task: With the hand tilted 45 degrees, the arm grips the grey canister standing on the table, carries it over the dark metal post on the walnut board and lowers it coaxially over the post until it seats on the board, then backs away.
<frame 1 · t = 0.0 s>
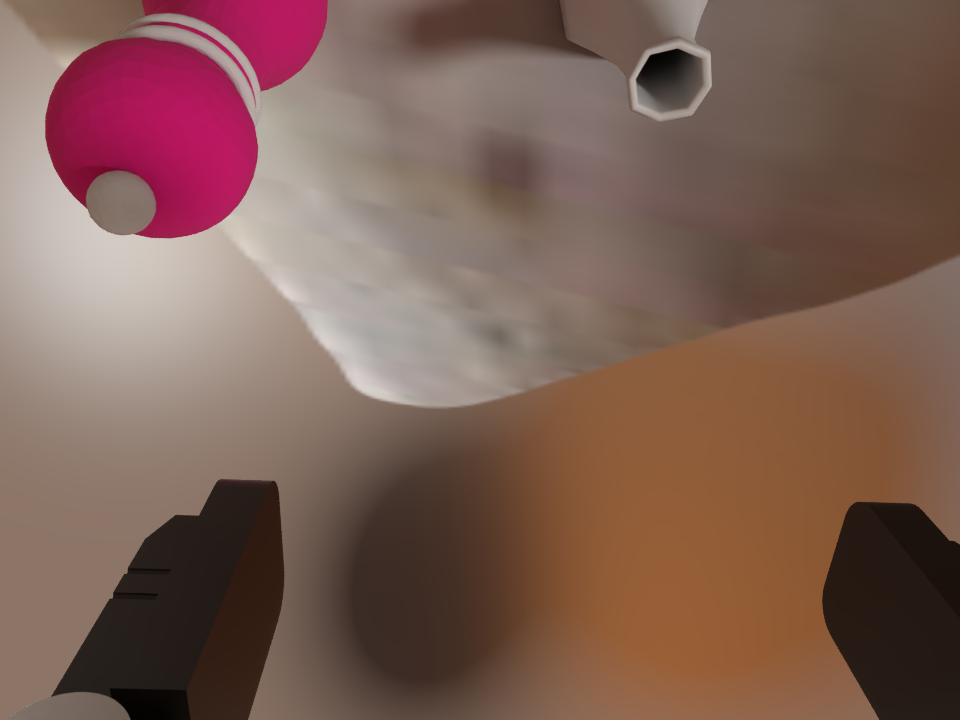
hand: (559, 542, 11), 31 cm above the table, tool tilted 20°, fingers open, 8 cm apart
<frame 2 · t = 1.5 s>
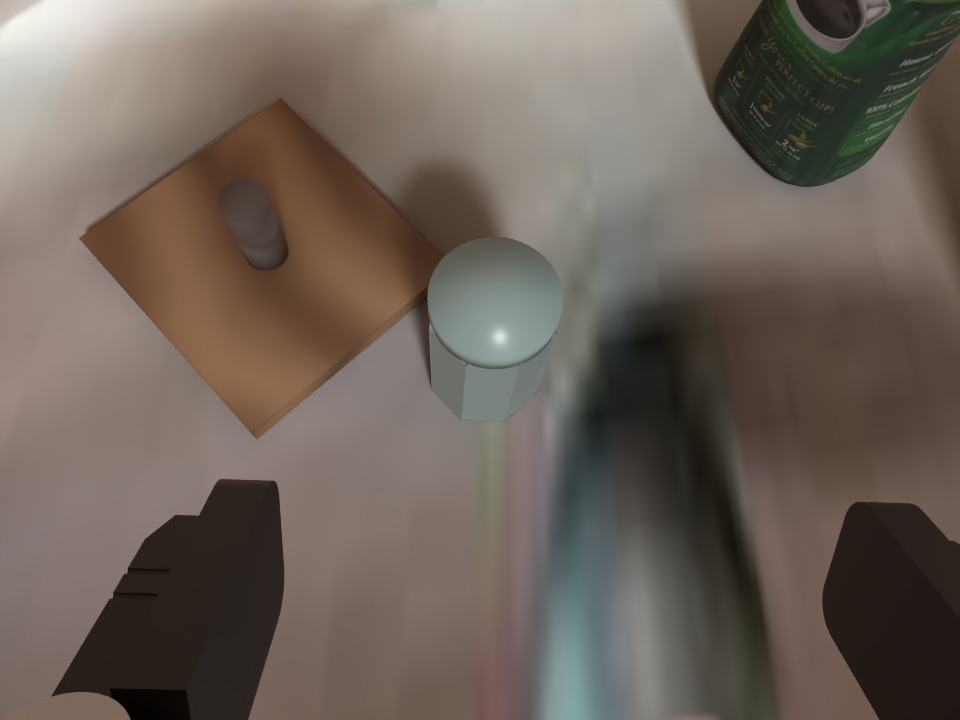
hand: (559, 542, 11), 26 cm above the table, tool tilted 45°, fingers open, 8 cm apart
coffee jar: (787, 122, 46), on the table
grey canister: (484, 371, 39), on the table
post stand: (271, 262, 41), on the table
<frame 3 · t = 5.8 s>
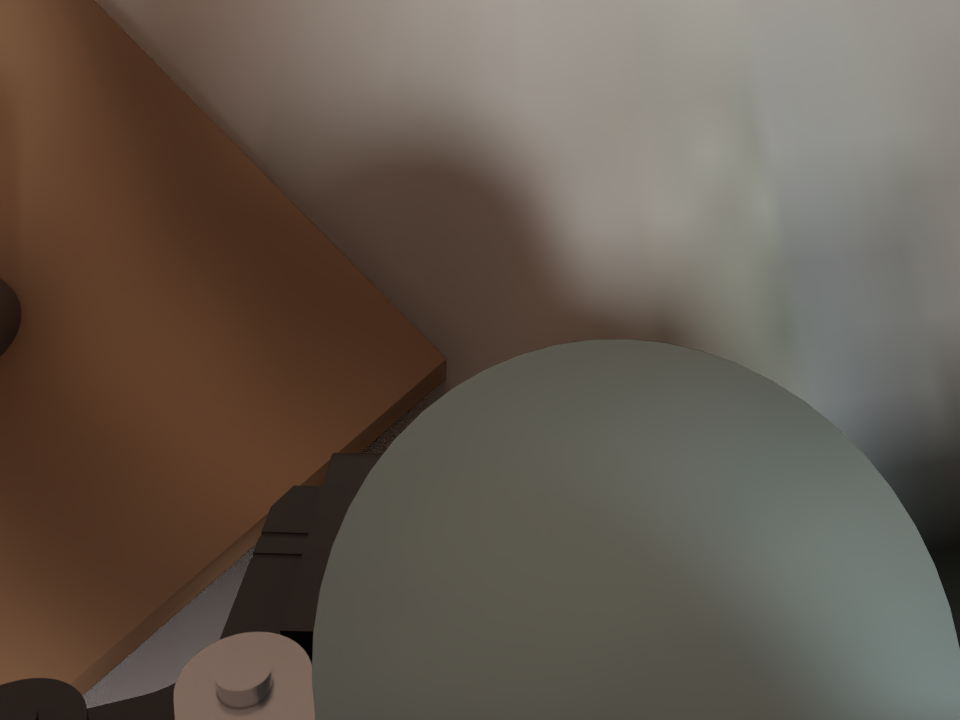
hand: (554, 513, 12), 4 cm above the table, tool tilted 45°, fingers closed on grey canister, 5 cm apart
grey canister: (526, 643, 15), on the table, touching gripper
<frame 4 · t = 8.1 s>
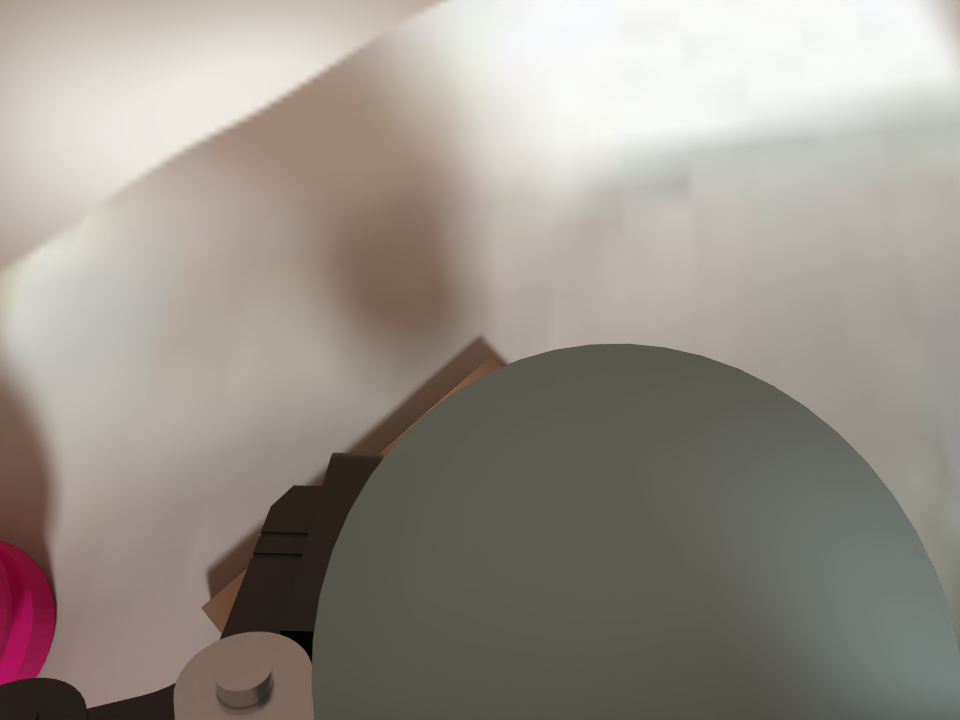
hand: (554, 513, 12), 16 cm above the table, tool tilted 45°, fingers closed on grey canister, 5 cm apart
grey canister: (526, 645, 15), point 12 cm above the table, touching gripper
post stand: (492, 629, 26), on the table
when the fingers open (7 cm above the table, at t = 10.8 s): grey canister drops 2 cm, resting on post stand.
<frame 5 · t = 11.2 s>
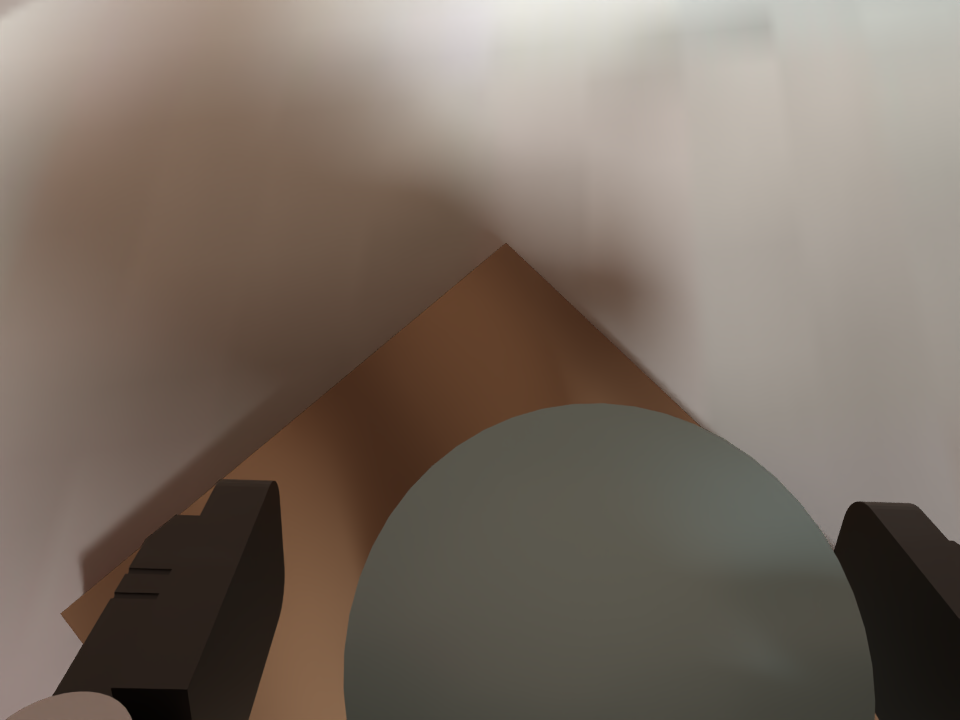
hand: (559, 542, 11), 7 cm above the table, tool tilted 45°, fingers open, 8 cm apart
grey canister: (522, 650, 16), point 1 cm above the table, touching post stand
post stand: (512, 643, 17), on the table
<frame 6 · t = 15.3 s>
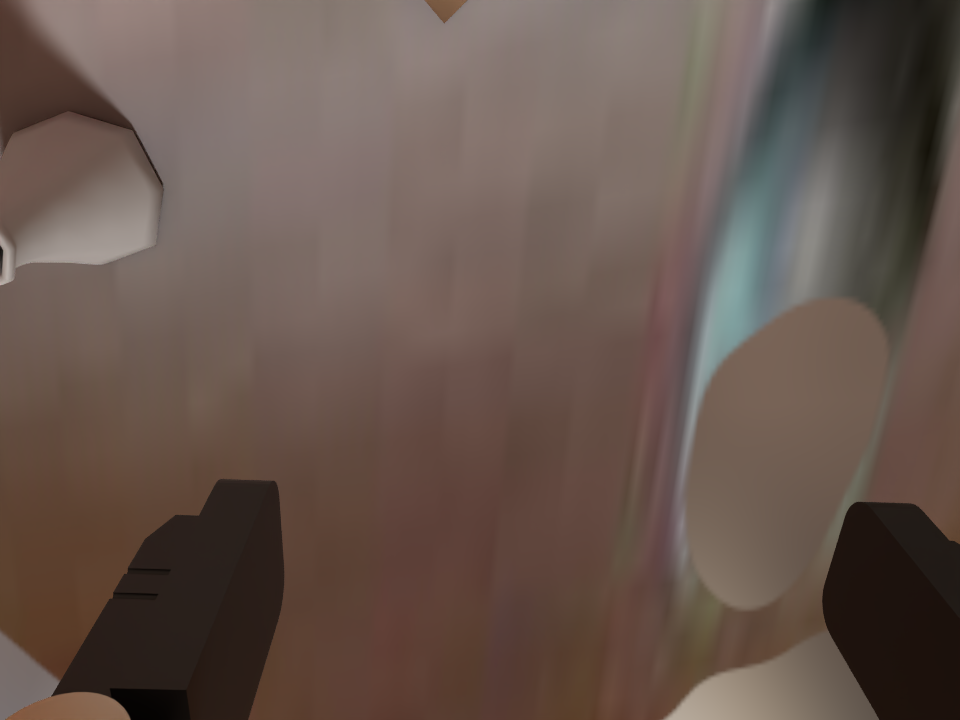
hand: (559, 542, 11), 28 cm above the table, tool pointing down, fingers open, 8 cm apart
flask: (91, 188, 37), on the table
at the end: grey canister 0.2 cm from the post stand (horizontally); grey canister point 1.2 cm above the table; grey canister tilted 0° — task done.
